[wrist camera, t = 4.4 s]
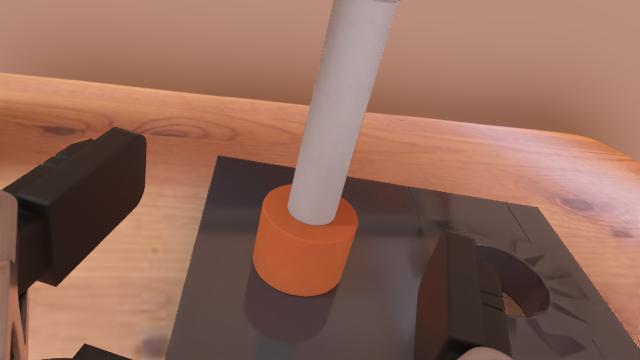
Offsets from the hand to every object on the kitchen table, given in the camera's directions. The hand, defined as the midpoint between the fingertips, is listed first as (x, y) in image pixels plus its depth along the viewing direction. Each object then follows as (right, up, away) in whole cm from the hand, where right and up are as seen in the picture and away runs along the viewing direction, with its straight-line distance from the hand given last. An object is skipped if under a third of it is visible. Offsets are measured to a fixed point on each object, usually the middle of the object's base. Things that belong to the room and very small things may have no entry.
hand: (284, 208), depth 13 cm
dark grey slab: (+5, -6, +14) cm, 16 cm away
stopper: (0, -3, +11) cm, 12 cm away
